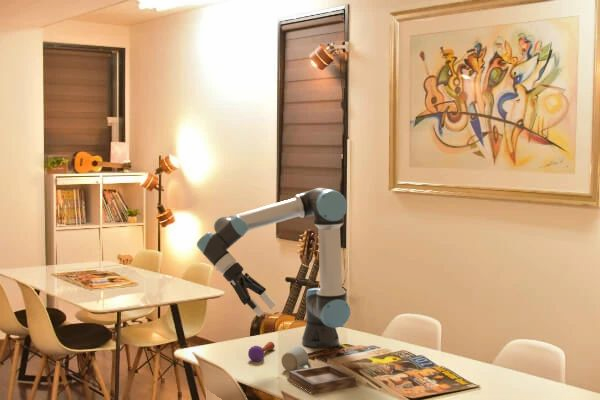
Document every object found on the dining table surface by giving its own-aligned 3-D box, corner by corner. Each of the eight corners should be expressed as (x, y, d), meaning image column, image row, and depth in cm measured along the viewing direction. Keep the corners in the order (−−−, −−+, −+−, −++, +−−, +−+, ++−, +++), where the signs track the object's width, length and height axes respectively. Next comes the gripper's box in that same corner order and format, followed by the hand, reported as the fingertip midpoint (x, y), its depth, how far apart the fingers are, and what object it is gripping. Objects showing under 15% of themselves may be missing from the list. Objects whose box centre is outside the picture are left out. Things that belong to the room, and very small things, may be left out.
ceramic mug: (279, 370, 304) (280, 350, 303) (291, 364, 311) (291, 344, 310) (304, 375, 298) (304, 354, 297) (316, 369, 305) (316, 349, 304)
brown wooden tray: (331, 372, 301) (331, 363, 300) (357, 386, 285) (357, 377, 285) (287, 379, 292) (287, 371, 292) (312, 394, 276) (312, 385, 276)
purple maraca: (279, 340, 331) (262, 349, 312) (276, 354, 332) (258, 364, 313) (265, 336, 333) (247, 345, 314) (262, 350, 334) (244, 360, 314)
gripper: (234, 269, 322) (271, 310, 319) (210, 280, 298) (249, 324, 295) (247, 256, 320) (284, 297, 317) (224, 266, 296) (263, 310, 293)
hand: (267, 310), depth 306 cm, fingers open, 13 cm apart
